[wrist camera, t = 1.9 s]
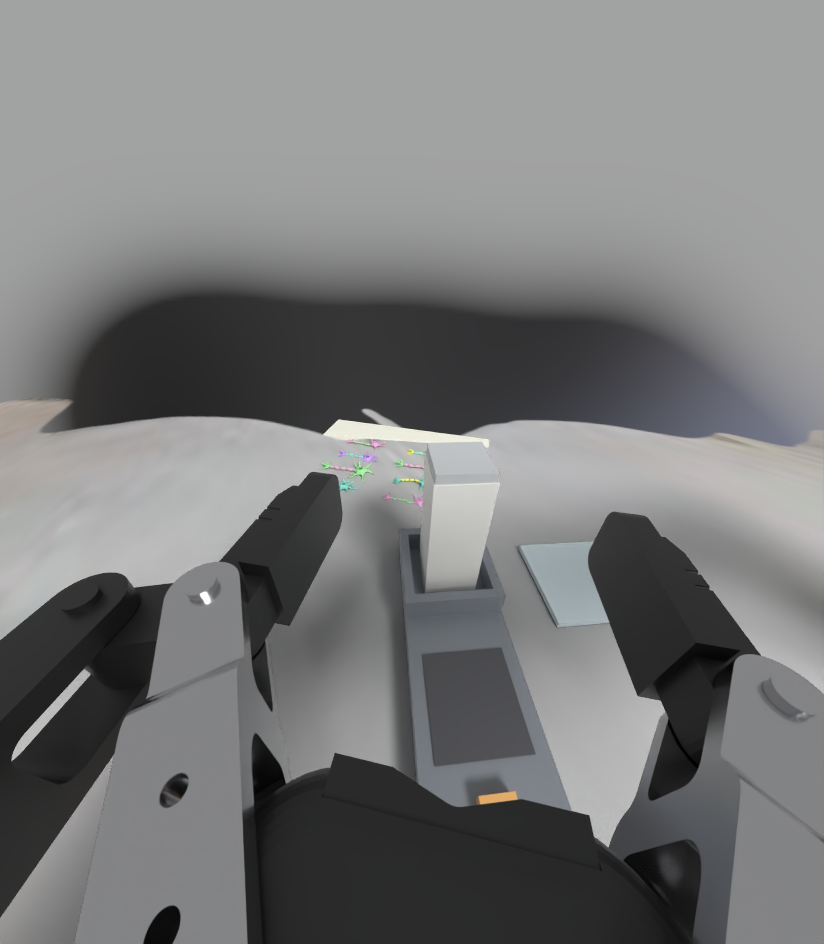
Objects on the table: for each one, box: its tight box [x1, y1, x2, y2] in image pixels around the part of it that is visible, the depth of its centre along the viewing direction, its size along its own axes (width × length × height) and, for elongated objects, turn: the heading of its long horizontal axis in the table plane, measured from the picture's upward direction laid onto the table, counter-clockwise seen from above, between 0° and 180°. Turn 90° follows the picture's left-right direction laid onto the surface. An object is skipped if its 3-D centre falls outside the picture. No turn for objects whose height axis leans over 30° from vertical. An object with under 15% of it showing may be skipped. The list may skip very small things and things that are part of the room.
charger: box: [419, 442, 500, 593], centre depth 25 cm, size 4×4×13 cm
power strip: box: [399, 528, 572, 811], centre depth 21 cm, size 8×30×4 cm, turn 5°
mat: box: [519, 541, 609, 627], centre depth 31 cm, size 9×9×1 cm
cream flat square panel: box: [321, 420, 489, 512], centre depth 46 cm, size 30×30×2 cm
